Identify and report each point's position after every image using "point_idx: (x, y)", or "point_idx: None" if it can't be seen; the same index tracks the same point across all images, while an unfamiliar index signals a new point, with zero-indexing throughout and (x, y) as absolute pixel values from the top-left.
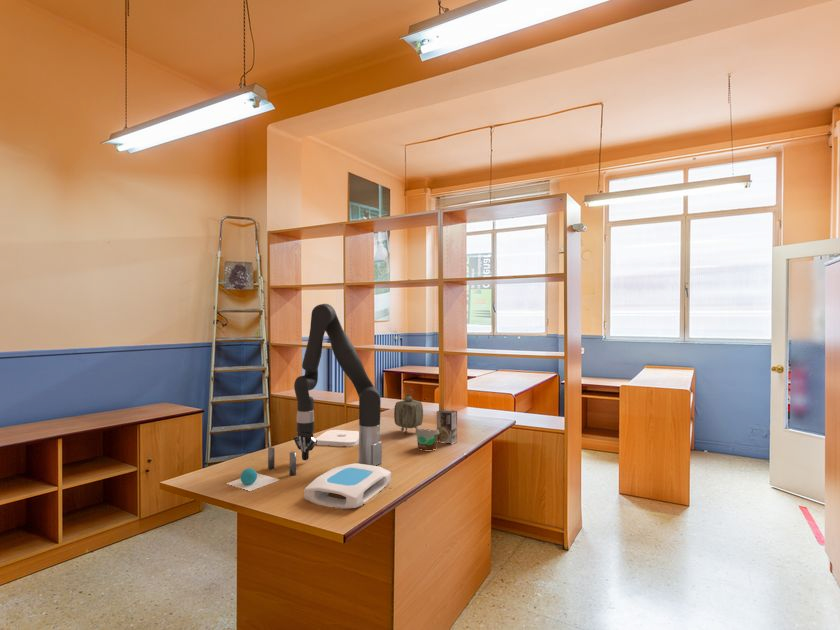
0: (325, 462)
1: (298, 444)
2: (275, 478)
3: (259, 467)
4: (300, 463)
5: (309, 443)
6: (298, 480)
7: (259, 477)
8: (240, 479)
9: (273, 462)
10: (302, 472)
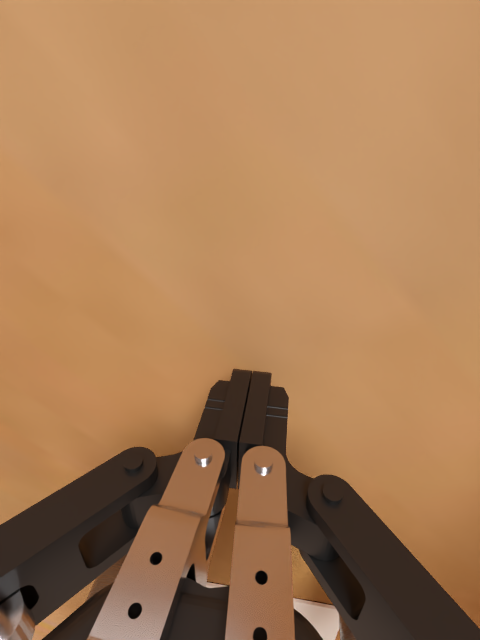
0: (464, 248)
1: (106, 567)
2: (309, 605)
3: None
4: None
5: (276, 579)
6: (461, 598)
7: None
8: None
9: None
10: (395, 514)
